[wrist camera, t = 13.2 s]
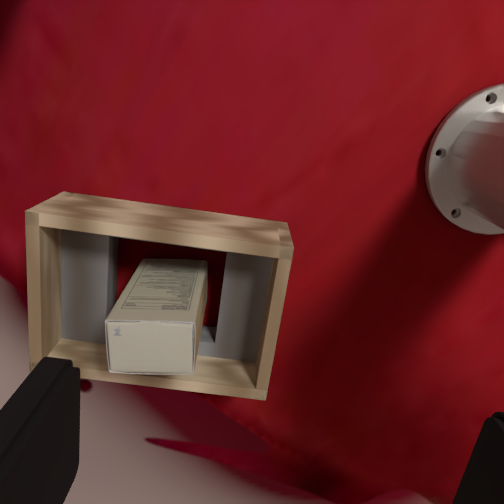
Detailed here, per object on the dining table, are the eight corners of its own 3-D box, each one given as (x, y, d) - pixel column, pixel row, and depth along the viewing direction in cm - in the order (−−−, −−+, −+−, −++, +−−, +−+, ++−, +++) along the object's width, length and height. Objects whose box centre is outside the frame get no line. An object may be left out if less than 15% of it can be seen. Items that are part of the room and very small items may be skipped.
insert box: (287, 222, 40) (294, 247, 33) (263, 355, 44) (265, 400, 38) (63, 191, 39) (25, 211, 32) (63, 330, 43) (29, 372, 37)
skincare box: (143, 298, 42) (103, 374, 31) (142, 256, 41) (98, 319, 29) (210, 301, 42) (195, 378, 31) (211, 259, 41) (195, 323, 29)
